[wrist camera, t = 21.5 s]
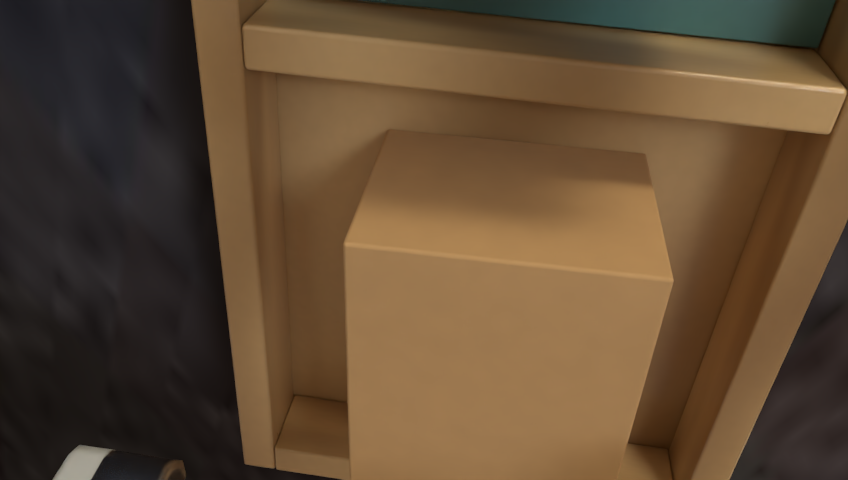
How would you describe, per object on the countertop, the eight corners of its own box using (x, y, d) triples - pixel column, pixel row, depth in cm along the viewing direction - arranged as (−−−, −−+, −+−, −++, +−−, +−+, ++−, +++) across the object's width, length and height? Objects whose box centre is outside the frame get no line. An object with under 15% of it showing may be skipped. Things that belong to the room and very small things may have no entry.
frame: (272, 394, 21) (243, 465, 19) (167, -981, 8) (49, -1195, 6) (689, 454, 20) (704, 536, 18) (1256, -976, 7) (1509, -1223, 6)
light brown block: (384, 352, 18) (349, 491, 15) (387, 127, 15) (341, 243, 12) (594, 378, 18) (604, 526, 15) (646, 152, 14) (675, 279, 11)
